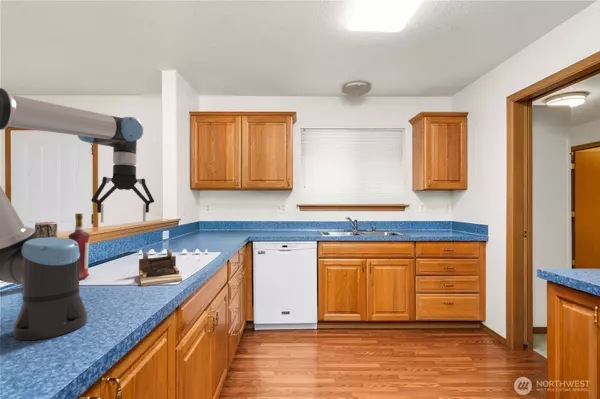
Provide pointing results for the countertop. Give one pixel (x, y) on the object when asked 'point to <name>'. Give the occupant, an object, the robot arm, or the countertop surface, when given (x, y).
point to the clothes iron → (160, 271)
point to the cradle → (145, 268)
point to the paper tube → (46, 229)
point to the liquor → (81, 246)
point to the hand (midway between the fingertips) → (123, 221)
